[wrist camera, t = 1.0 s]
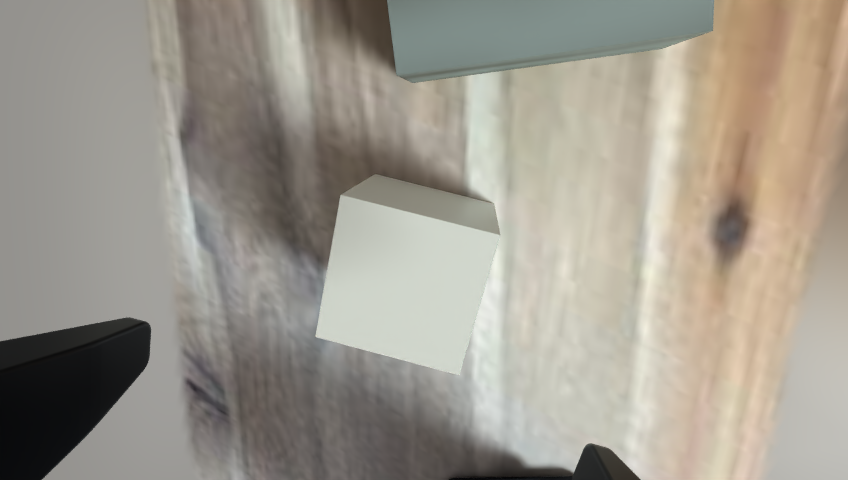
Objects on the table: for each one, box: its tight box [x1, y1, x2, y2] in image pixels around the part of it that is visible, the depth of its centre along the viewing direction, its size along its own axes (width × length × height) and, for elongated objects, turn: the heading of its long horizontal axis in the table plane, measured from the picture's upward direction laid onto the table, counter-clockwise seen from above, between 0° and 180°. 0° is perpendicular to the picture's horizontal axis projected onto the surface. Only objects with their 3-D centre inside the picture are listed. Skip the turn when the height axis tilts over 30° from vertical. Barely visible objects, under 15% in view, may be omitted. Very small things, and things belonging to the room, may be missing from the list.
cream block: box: [315, 174, 500, 375], centre depth 17 cm, size 5×5×5 cm
